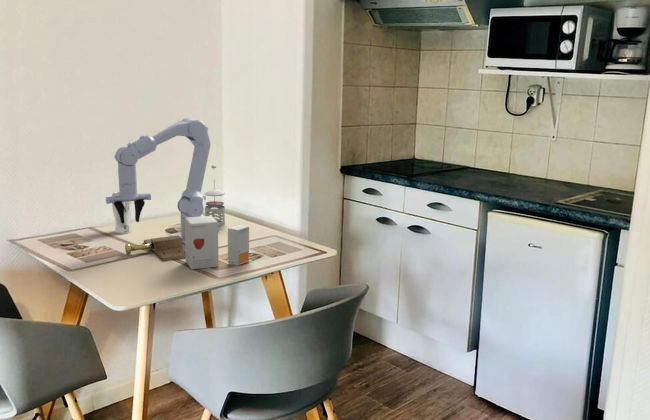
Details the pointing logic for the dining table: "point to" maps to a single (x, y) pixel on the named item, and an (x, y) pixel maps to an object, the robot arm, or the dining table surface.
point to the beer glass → (126, 226)
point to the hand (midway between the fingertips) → (130, 222)
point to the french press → (215, 204)
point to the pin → (137, 247)
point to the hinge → (167, 247)
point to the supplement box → (201, 242)
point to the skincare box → (238, 245)
